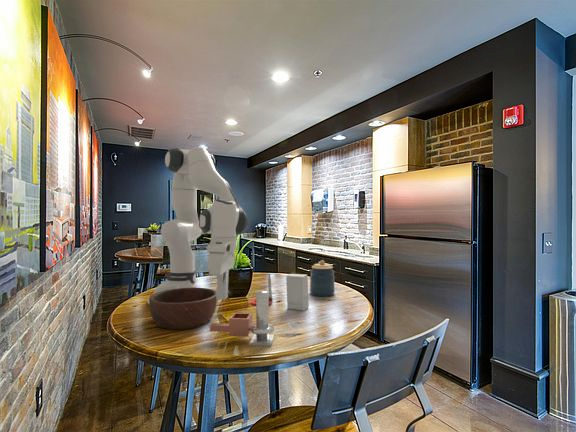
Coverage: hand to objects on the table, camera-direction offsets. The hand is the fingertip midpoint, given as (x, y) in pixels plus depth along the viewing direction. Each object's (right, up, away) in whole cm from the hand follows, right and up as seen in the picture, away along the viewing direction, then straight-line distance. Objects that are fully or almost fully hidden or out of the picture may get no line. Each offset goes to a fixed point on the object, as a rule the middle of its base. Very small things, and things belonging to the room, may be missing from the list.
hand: (222, 283), depth 110 cm
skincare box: (+27, -17, +27) cm, 42 cm away
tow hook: (+11, -17, +35) cm, 41 cm away
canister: (+41, -17, +53) cm, 70 cm away
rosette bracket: (+8, -17, -9) cm, 20 cm away
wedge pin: (0, -5, 0) cm, 5 cm away
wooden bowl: (-17, -17, +10) cm, 26 cm away
